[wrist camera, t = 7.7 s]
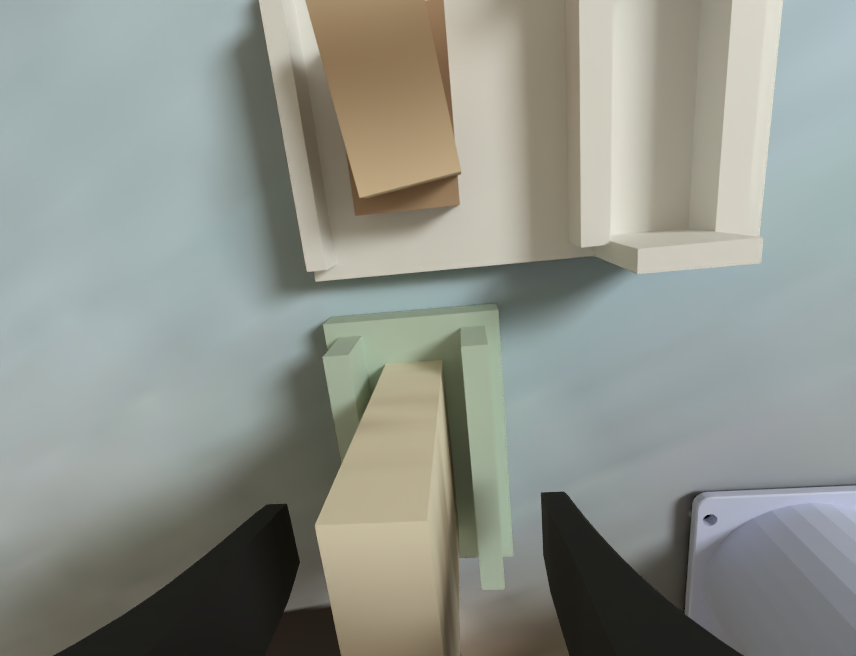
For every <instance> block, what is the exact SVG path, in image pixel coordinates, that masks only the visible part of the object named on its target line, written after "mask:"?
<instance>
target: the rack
mask: <svg viewBox="0 0 856 656" xmlns="http://www.w3.org/2000/svg"><path fill="white" fill-rule="evenodd" d="M425 1H426V0H425ZM259 4H260V10H261V16H262V21H263V27H264V33H265V38H266V44H267V50H268V55H269V61H270V66H271V72H272V78H273V83H274V89H275V95H276V100H277V106H278V112H279V117H280V123H281V129H282V134H283V140H284V145H285V151H286V157H287V162H288V168H289V174H290V179H291V185H292V191H293V196H294V202H295V207H296V213H297V219H298V224H299V230H300V236H301V241H302V247H303V253H304V258H305V264H306V270H307V272H312V271H314V276H315V282H317V281H328V280H339V279H350V278H361V277H371V276H382V275H393V274H404V273H415V272H426V271H437V270H448V269H459V268H470V267H480V266H491V265H502V264H513V263H524V262H535V261H546V260H557V259H568V258H579V257H589V256H596V257H598V258H600V259H603V260H605V261H608V262H610V263H612V264H615V265H617V266H619V267H622V268H624V269H627V270H629V271H631V272H634V273H636V274H643V273H654V272H666V271H677V270H689V269H700V268H712V267H723V266H735V265H746V264H757V263H761V257H762V247H763V237H759V234H760V224H761V214H762V204H763V194H764V184H765V175H766V165H767V155H768V145H769V135H770V125H771V115H772V105H773V95H774V85H775V75H776V65H777V55H778V45H779V35H780V25H781V15H782V5H783V0H444V11H445V23H446V36H447V48H448V61H449V74H450V86H451V99H452V111H453V124H454V137H455V144H456V149H457V153H458V158H459V163H460V168H461V175H458V187H459V200H460V205H455V206H445V207H435V208H426V209H416V210H407V211H397V212H388V213H378V214H369V215H359V216H355V211H354V204H353V197H352V190H351V183H350V176H349V169H348V162H347V155H346V148H345V143H344V140H343V136H342V132H341V129H340V125H339V122H338V118H337V114H336V111H335V107H334V103H333V100H332V96H331V92H330V89H329V85H328V82H327V78H326V74H325V71H324V67H323V63H322V60H321V56H320V52H319V49H318V45H317V42H316V38H315V34H314V31H313V27H312V23H311V20H310V16H309V12H308V9H307V5H306V2H305V0H259Z"/></svg>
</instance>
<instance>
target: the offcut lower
mask: <svg viewBox="0 0 856 656" xmlns="http://www.w3.org/2000/svg"><path fill="white" fill-rule="evenodd" d="M425 4H426V8H427V13H428V18H429V22H430V27H431V32H432V36H433V41H434V46H435V50H436V55H437V60H438V64H439V69H440V74H441V79H442V83H443V88H444V93H445V97H446V102H447V107H448V111H449V116H450V121H451V125H452V130H453V135H454V124H453V111H452V99H451V86H450V74H449V61H448V48H447V36H446V23H445V11H444V0H426V1H425ZM454 139H455V137H454ZM345 148H346V147H345ZM346 155H347V162H348V169H349V176H350V183H351V190H352V197H353V204H354V211H355V216H359V215H369V214H378V213H388V212H397V211H407V210H416V209H426V208H435V207H445V206H455V205H460V200H459V187H458V175H457V176H453V177H449V178H445V179H442V180H438V181H434V182H430V183H426V184H423V185H419V186H415V187H411V188H407V189H403V190H400V191H396V192H392V193H388V194H384V195H381V196H377V197H373V198H359V194H358V191H357V187H356V183H355V180H354V176H353V172H352V169H351V165H350V162H349V158H348V154H347V151H346Z"/></svg>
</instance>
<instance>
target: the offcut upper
mask: <svg viewBox="0 0 856 656" xmlns="http://www.w3.org/2000/svg"><path fill="white" fill-rule="evenodd" d="M305 2H306V5H307V9H308V12H309V16H310V20H311V23H312V27H313V31H314V34H315V38H316V42H317V45H318V49H319V52H320V56H321V60H322V63H323V67H324V71H325V74H326V78H327V82H328V85H329V89H330V92H331V96H332V100H333V103H334V107H335V111H336V114H337V118H338V122H339V125H340V129H341V132H342V136H343V140H344V143H345V147H346V151H347V154H348V158H349V162H350V165H351V169H352V172H353V176H354V180H355V183H356V187H357V191H358V194H359V198H373V197H377V196H381V195H384V194H388V193H392V192H396V191H400V190H403V189H407V188H411V187H415V186H419V185H423V184H426V183H430V182H434V181H438V180H442V179H445V178H449V177H453V176H457V175H461V168H460V163H459V158H458V153H457V149H456V144H455V139H454V135H453V130H452V125H451V121H450V116H449V111H448V107H447V102H446V97H445V93H444V88H443V83H442V79H441V74H440V69H439V64H438V60H437V55H436V50H435V46H434V41H433V36H432V32H431V27H430V22H429V18H428V13H427V8H426V4H425V0H305Z"/></svg>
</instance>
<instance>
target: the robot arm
mask: <svg viewBox="0 0 856 656" xmlns="http://www.w3.org/2000/svg"><path fill="white" fill-rule="evenodd" d="M541 506H542V532H543V555H544V561H545V566H546V571H547V576H548V581H549V587H550V592H551V595H552V599H553V602H554V606H555V609H556V612H557V616H558V619H559V622H560V626H561V629H562V632H563V636H564V639H565V642H566V645H567V649H568V652H569V655H570V656H856V485H854V486H831V487H808V488H785V489H763V490H740V491H717V492H704V493H701V494H699V495H697V496H696V497H695V498H694V500H693V503H692V517H691V530H690V544H689V558H688V572H687V586H686V600H685V614H684V613H683V612H682V611H680V610H679V609H678V608H677V607H675V606H674V605H673V604H672V603H670V602H669V601H668V600H667V599H666V598H665V597H663V596H662V595H661V594H660V593H659V592H658V591H656V590H655V589H654V588H653V587H652V586H651V585H650V584H649V583H647V582H646V581H645V580H644V579H643V578H642V577H641V576H640V575H639V574H638V573H637V572H636V571H635V570H634V569H633V568H632V567H631V566H630V565H629V564H627V563H626V562H625V561H624V560H623V559H622V558H621V556H620V555H619V554H618V553H617V552H616V551H615V550H614V549H613V548H612V547H611V546H610V545H609V544H608V543H607V542H606V541H605V539H604V538H603V537H602V536H601V535H600V534H599V533H598V532H597V531H596V529H595V528H594V527H593V526H592V525H591V524H590V522H589V521H588V520H587V519H586V518H585V516H584V515H583V514H582V513H581V512H580V510H579V509H578V508H577V506H576V505H575V504H574V503H573V501H572V500H571V499H570V497H569V496H568V495H567V494H566V493H565V492H544V493H541ZM710 514H711V516H710V517H708V518H706V519H703V518H704V517H705V516H706V515H710ZM299 563H300V561H299V556H298V552H297V547H296V543H295V538H294V534H293V529H292V524H291V520H290V515H289V511H288V506H287V504H270V505H266V506H264V507H263V508H262V509H260V510H259V511H258V512H257V513H255V514H254V515H253V516H252V517H250V518H249V519H248V520H247V521H246V522H244V523H243V524H242V525H241V526H240V527H239V528H237V529H236V530H235V531H234V532H233V533H231V534H230V535H229V536H228V537H227V538H225V539H224V540H223V541H222V542H221V543H219V544H218V545H217V546H216V547H215V548H213V549H212V550H211V551H210V552H209V553H207V554H206V555H205V556H204V557H203V558H201V559H200V560H199V561H197V562H196V563H195V564H194V565H192V566H191V567H190V568H188V569H187V570H186V571H184V572H183V573H182V574H181V575H179V576H178V577H177V578H175V579H174V580H173V581H172V582H170V583H169V584H168V585H166V586H165V587H163V588H162V589H161V590H159V591H158V592H156V593H155V594H154V595H152V596H151V597H149V598H148V599H146V600H145V601H143V602H142V603H140V604H139V605H137V606H136V607H134V608H133V609H131V610H130V611H128V612H127V613H125V614H124V615H122V616H121V617H119V618H117V619H116V620H114V621H112V622H111V623H109V624H107V625H106V626H104V627H102V628H101V629H99V630H97V631H96V632H94V633H92V634H91V635H89V636H87V637H86V638H84V639H82V640H81V641H79V642H77V643H76V644H74V645H72V646H70V647H68V648H67V649H65V650H63V651H61V652H59V653H57V654H56V655H54V656H265V653H266V651H267V649H268V647H269V644H270V642H271V640H272V637H273V635H274V633H275V631H276V628H277V626H278V623H279V621H280V619H281V616H282V614H283V612H284V609H285V607H286V605H287V602H288V600H289V597H290V594H291V590H292V587H293V584H294V581H295V577H296V574H297V570H298V566H299Z"/></svg>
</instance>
